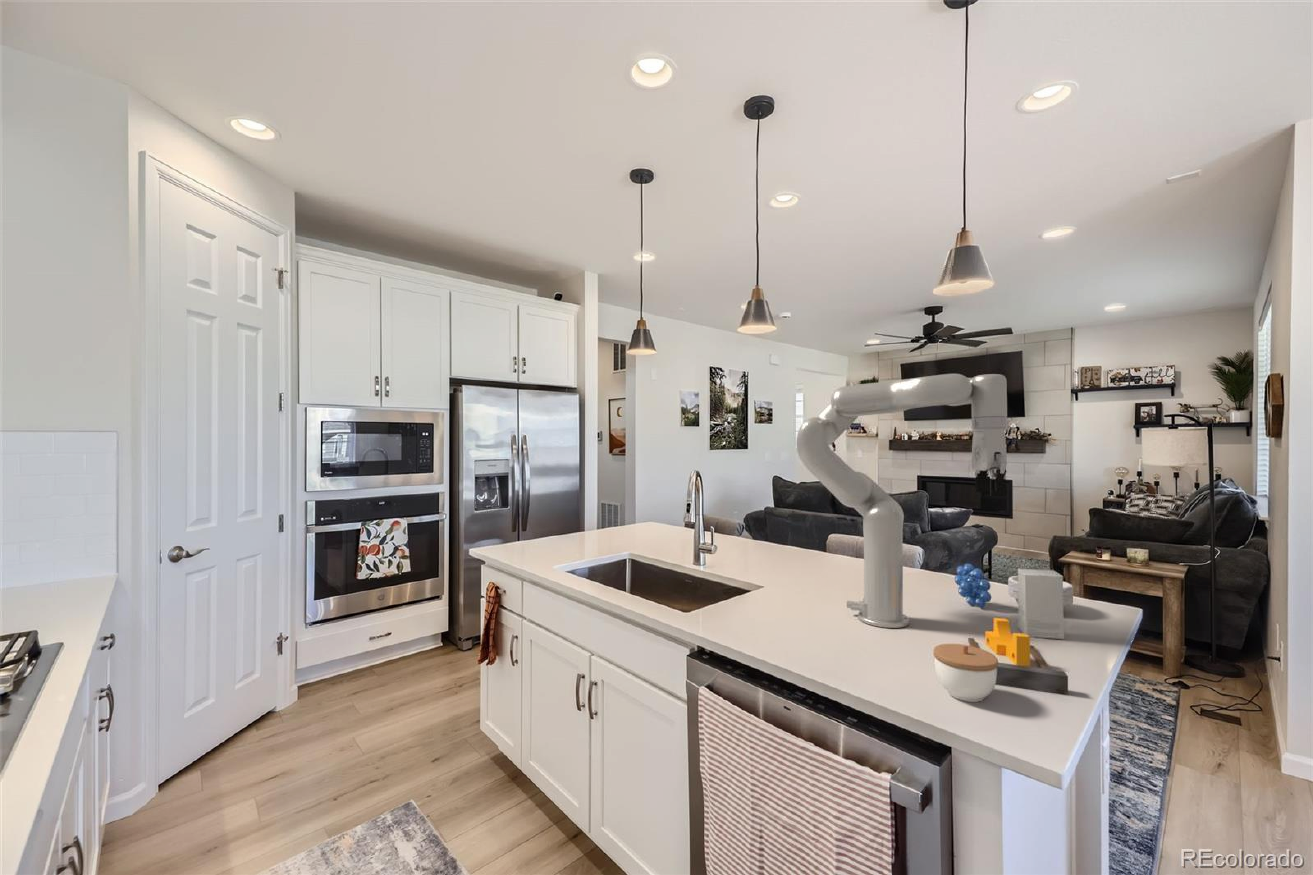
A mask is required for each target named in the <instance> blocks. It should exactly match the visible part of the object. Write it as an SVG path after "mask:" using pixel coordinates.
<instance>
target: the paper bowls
mask: <svg viewBox="0 0 1313 875" xmlns="http://www.w3.org/2000/svg"><path fill="white" fill-rule="evenodd" d="M1007 587H1008V588H1007V590H1008V591H1007V594H1008V596H1010V597H1011V598H1013V599H1014V600H1015V601H1016V603H1017V604H1018V575H1014V576H1013V575H1012V576H1010V577H1008V582H1007ZM1073 604H1074V586H1073V585H1072V584H1071V583H1069V582H1067V581H1064V580H1063V610H1064V609H1065V607H1066V606H1071V605H1073Z"/></svg>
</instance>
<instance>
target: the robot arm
mask: <svg viewBox="0 0 1313 875" xmlns="http://www.w3.org/2000/svg"><path fill="white" fill-rule="evenodd" d="M1007 383H1008V382H1007V377H1006V376H1005V375H1004V374H1003V375H1002V373H1001V374H999V373H998V374H997V373H991V374H989V373H988V374H979V375H975V376H973V377H967V376H965V375H963V374H960V373H945V374H944V373H943V374H937V375H929V376H922V377H921V376H920V377H914V378H913V377H912V378H905V379H895V380H894V379H893V380H889V381H888V380H887V381H878V382H870V383H861V384H852V385H851V384H850V385H845V386H840V387H839V388H837V389H835V390H834V391H833V393H832V395H831V398H830V404H828V406H827V407H825V408H824V410H823V411H822V413H820V414H819V416H814V417H810V418H808V419H806V420H805V421H804V422H803V423H802V424H801V426H800V427H799V429H798V432H797V434H796V435H797V436H796V442H795V443H796V450H797V451H796V452H797V454H798V457H799V458H800V461H801V462H802V463H803V466H805V468H806V469H807V470H808V471H809V473H811V474H812V475H813V476H814V477H815V478H816V479H817V480H818V481H819V482H820V483H821V484H822V485H823V486H824V487H825V488H826V489H827V490H828V491H829V492H830V493H831V494H832V495H833V496H834V497H835V498H836V500H837V501H839V502H840V503H841V504H842V505H844V506H846V508H847V507H848V508H853V509H854V510H855V511H856V512H857V513H858V514H860V515H861V516H862V518H863V523H862V530H863V532H862V533H863V563H864V564H863V566H864V567H863V568H864V569H863V572H864V573H863V577H864V579H863V580H864V581H863V582H864V583H863V584H864V585H863V589H864V590H863V592H864V593H863V594H864V595H863V596H864V598H863V599H862V600H859V601H854V600H853V601H852V600H846V608H847V609H850V610H851V611H858V613H857V616H858V617H857V618H858V619H859V620H860V621H861V622H862V623H865V624H868V625H870V626H874V627H878V628H888V629H892V628H893V629H897V628H898V629H900V628H904V627H907V626H908V625H909V624H910V618H909V617H908V616H907V615H906V614H904V609H903V607H904V606H903V603H904V599H903V598H904V592H903V590H904V586H903V585H904V584H903V583H904V580H903V579H904V573H903V572H904V564H903V562H904V561H903V560H904V558H903V556H904V554H903V553H904V552H903V546H904V545H903V531H904V525H903V524H904V519H905V517H904V516H905V514H904V511H903V508H902V506H901V505H900V504H899V503H898V502H897V501H896V500H895V499H894V498H893V497H892V496H891V495H889V494H888V493H887V492H886V491H885V490H884V489H883V488H882V487H881V486H880V485H879V484H878V483H877V482H875V481H874V480H873V479H872V478H871V477H869V476H868V475H867V474H866V473H864V472H861V471H856V470H854V469H853V468H852V467H851V466H849V465H848V464H847V463H846V462H845V461H844V460H843V459H842V458H841V457H840V456H839V455H838V454H836V453H835V451H833V450H832V449H831V447H830V445H832V444H833V443H834V442H836V440H837V439H839V437H841V435H842V434H843V433H844V432H845V431H846V430H847V429H848V428H849V427H850V426H851V425H852V424H853V423H854V422H855V421H856V420H857V419H858V418H859V417H860V416H873V415H882V414H883V415H884V414H896V413H900V412H904V411H908V410H911V409H917V408H926V407H936V406H938V407H939V406H949V407H950V406H951V407H957V406H963V405H971V431H972V432H973V436H972V441H971V442H972V444H971V468H972V469H974V470H975V472H974V473H975V474H974V477H975V492H976V493H990V494H989V495H990V496H991V497H1006V496H1007V475H1006V473H1007V472H1008V471H1007V464H1008V462H1007V460H1008V459H1007V457H1008V456H1007V444H1006V443H1007V441H1006V434H1005V431H1008V395H1007V391H1008V390H1007V388H1008V387H1007V385H1008V384H1007ZM989 474H990V476H989Z"/></svg>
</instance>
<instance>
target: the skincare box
mask: <svg viewBox="0 0 1313 875" xmlns="http://www.w3.org/2000/svg"><path fill="white" fill-rule="evenodd" d="M1017 576H1018V603H1017V605H1018V629H1019V630H1020V631H1021V632H1022V634H1027V635H1028V636H1029V637H1030V638H1040V639H1041V638H1043V639H1044V638H1045V639H1054V640H1055V639H1056V640H1064V639H1065V628H1064V621H1065V620H1064V609H1063V581H1064V576H1063V575H1062V574H1060V573H1059V572H1057V571H1055V570H1054V569H1037V568H1035V569H1033V568H1032V569H1031V568H1017Z"/></svg>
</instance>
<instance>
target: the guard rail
mask: <svg viewBox="0 0 1313 875" xmlns="http://www.w3.org/2000/svg"><path fill="white" fill-rule="evenodd" d="M967 639H968V640H967V642H968V644H969V646H973V647H976V648H979V646H978V644H977V642H976V641H975V638H973V637H967ZM1030 656H1031V657H1032V658H1033V660H1034V661H1035V663H1036V664H1037V666H1038V667H1034V666H1020V665H1016V664H1014V663H1013V664H1012V663H1005V662H998V667H997V679H996V683H995V685H999V686H1006V687H1013V688H1018V689H1019V688H1021V689H1026V690H1034V691H1041V692H1046V693H1054V694H1060V695H1065V696H1067V695H1069V675H1068V674H1067V673H1066V671H1062V670H1056V669H1050V667H1049V666H1048V665H1047V663H1046V661H1044V659H1043V657H1042V656H1041V654H1040V653H1039V651H1038V650H1037V649H1036V647H1035V646H1034V645H1032V644H1030Z"/></svg>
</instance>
